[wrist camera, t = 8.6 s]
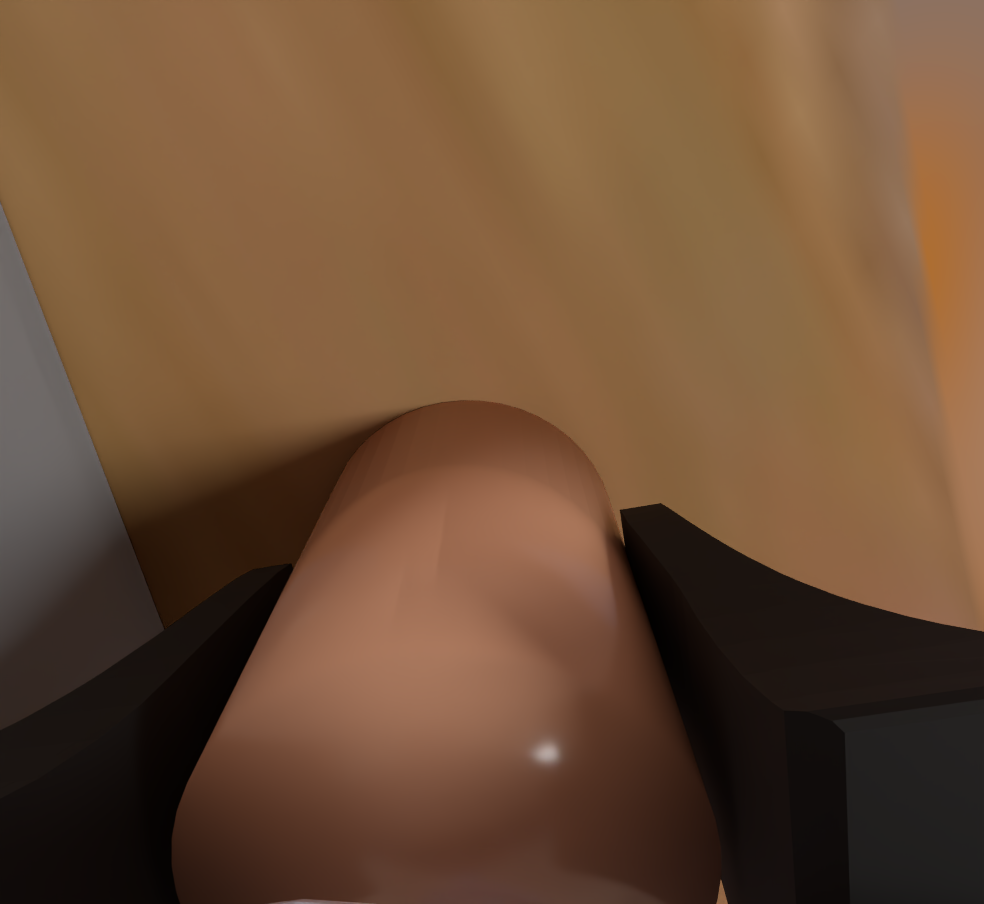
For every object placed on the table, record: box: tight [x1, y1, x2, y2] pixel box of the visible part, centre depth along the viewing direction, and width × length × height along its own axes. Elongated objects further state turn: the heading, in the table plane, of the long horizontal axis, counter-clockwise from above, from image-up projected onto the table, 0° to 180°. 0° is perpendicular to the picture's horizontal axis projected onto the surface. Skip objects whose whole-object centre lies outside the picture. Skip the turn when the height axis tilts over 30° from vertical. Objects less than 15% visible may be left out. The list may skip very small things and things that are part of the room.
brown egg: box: [172, 401, 721, 904], centre depth 10 cm, size 5×5×7 cm
